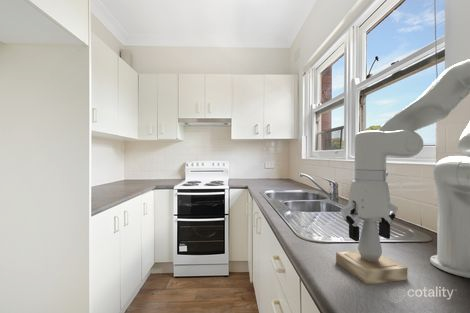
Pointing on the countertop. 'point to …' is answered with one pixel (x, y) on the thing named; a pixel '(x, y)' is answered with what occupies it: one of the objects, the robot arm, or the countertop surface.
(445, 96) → the robot arm
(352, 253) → the base board
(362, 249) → the salt shaker
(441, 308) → the countertop surface
